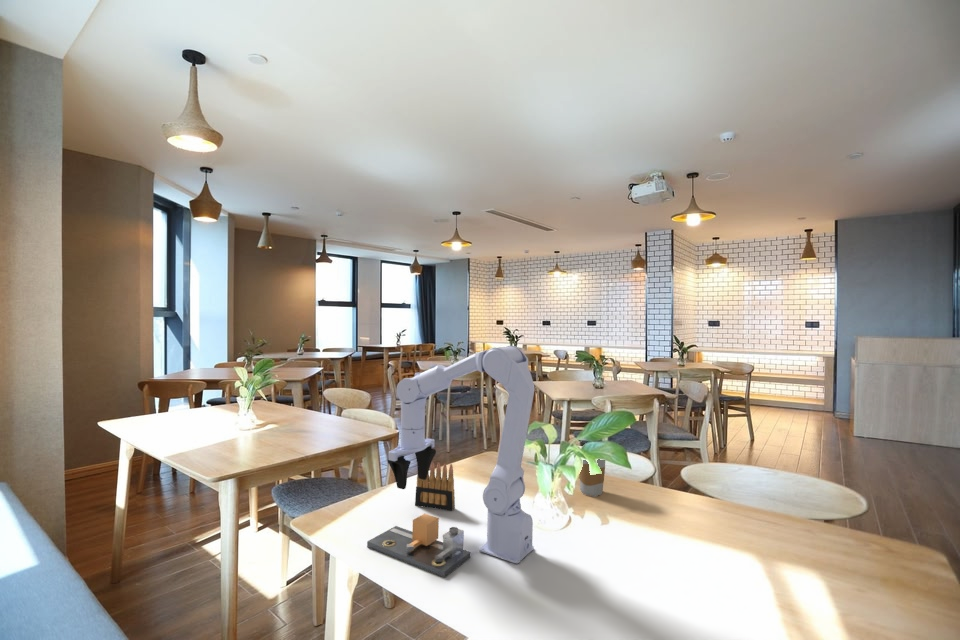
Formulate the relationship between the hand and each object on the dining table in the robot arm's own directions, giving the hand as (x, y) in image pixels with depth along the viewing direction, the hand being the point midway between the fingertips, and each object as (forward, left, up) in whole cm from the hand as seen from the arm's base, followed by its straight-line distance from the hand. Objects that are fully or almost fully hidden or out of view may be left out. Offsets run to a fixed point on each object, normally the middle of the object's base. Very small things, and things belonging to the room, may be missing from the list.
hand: (412, 483), depth 111 cm
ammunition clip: (+2, -11, -10) cm, 15 cm away
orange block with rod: (-10, +9, -8) cm, 15 cm away
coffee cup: (-29, -45, -10) cm, 55 cm away
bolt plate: (-10, +9, -10) cm, 17 cm away
